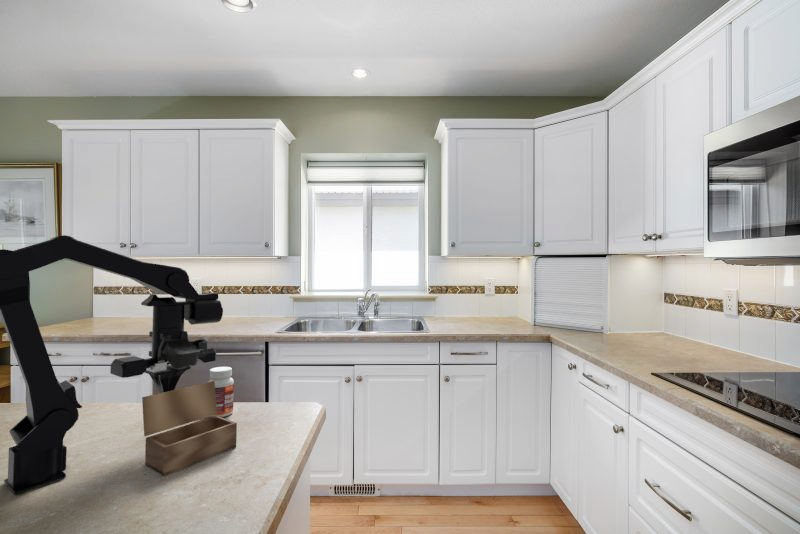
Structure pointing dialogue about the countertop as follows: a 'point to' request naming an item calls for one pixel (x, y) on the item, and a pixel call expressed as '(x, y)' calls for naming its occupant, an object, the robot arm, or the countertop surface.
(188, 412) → the lid
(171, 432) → the box
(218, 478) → the countertop surface
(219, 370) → the pill bottle
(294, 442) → the countertop surface
